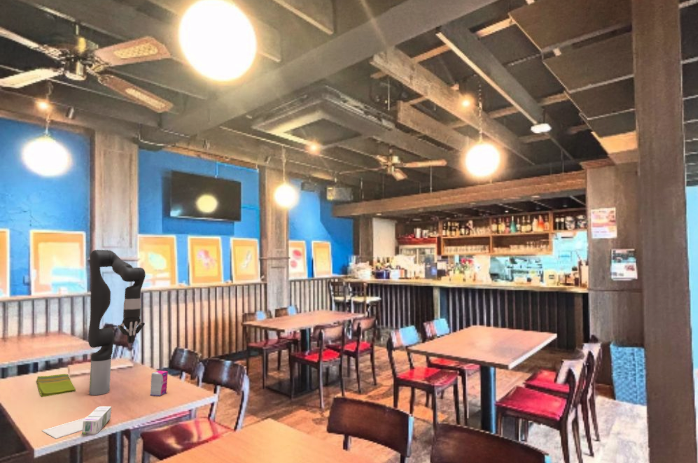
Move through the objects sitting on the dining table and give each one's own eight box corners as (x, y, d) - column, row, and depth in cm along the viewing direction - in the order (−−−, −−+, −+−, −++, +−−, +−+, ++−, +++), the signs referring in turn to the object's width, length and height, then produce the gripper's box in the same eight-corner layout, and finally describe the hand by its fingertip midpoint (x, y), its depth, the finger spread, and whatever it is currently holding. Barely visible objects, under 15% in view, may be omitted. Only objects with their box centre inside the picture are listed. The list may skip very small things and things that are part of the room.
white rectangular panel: (41, 431, 166) (41, 430, 166) (89, 417, 181) (89, 416, 181) (55, 438, 159) (55, 438, 159) (104, 423, 174) (104, 422, 174)
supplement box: (159, 396, 209) (160, 373, 209) (149, 395, 210) (150, 373, 211) (167, 393, 214) (168, 370, 215) (157, 392, 215) (158, 370, 216)
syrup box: (97, 406, 177) (81, 420, 163) (112, 406, 178) (97, 420, 164) (96, 419, 177) (80, 434, 162) (111, 419, 178) (96, 434, 163)
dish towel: (68, 377, 243) (68, 371, 243) (76, 392, 216) (76, 386, 216) (35, 382, 233) (36, 376, 233) (40, 398, 206) (40, 392, 206)
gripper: (141, 306, 210) (139, 340, 208) (114, 308, 199) (112, 344, 197) (149, 307, 205) (147, 341, 204) (122, 309, 194) (121, 346, 193)
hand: (130, 343), depth 201 cm, fingers closed
